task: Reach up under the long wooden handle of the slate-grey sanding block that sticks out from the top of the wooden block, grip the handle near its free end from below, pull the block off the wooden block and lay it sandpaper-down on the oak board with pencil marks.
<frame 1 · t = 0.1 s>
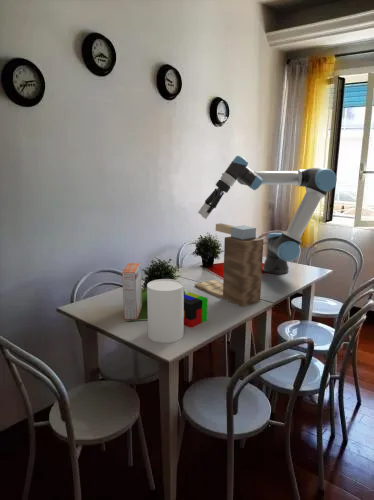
hand: (201, 215, 201), 36 cm above the table, tool tilted 35°, fingers open, 13 cm apart
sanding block: (243, 238, 173), point 30 cm above the table, touching wooden block
canister: (165, 334, 144), on the table
cracker box: (133, 313, 164), on the table
puzzle toy: (190, 321, 157), on the table
board: (217, 289, 194), on the table
wooden block: (241, 299, 180), on the table
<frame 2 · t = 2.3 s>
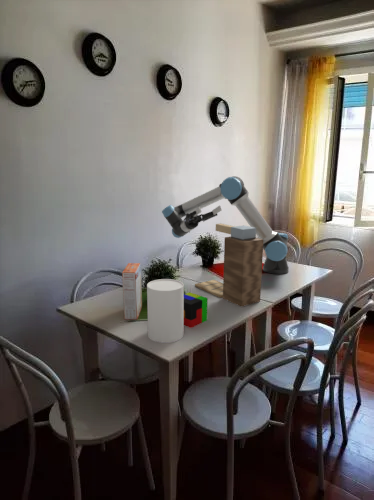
hand: (210, 208, 198), 40 cm above the table, tool pointing upward, fingers open, 13 cm apart
nothing on the table moved.
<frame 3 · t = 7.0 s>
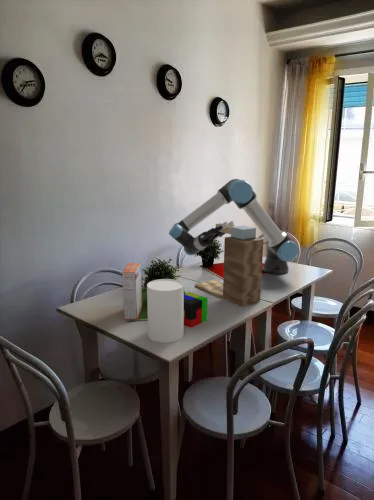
hand: (230, 223, 180), 35 cm above the table, tool pointing upward, fingers closed on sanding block, 3 cm apart
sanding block: (243, 238, 173), point 30 cm above the table, touching gripper, wooden block
everything else where it was.
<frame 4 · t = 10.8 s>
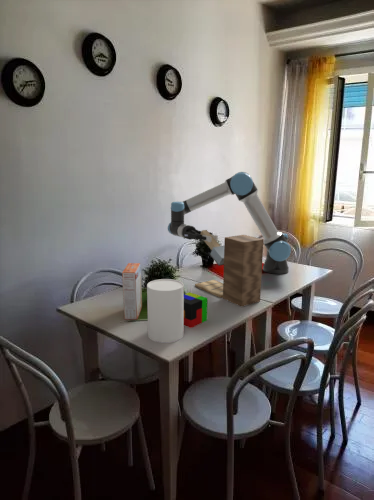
hand: (213, 239, 191), 26 cm above the table, tool horizontal, fingers closed on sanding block, 3 cm apart
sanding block: (220, 259, 189), point 17 cm above the table, tilted 30°, touching gripper
everything else where it was.
when the fingers open (13 cm above the table, at t = 13.4 s): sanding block drops 2 cm, resting on board.
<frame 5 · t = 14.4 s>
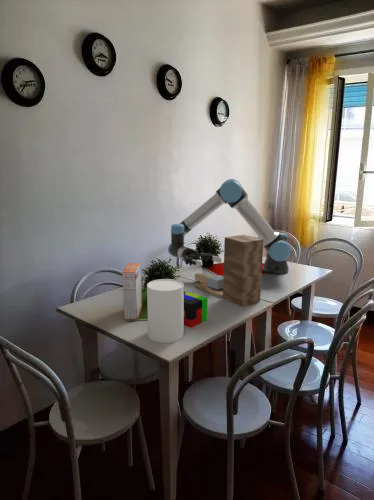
hand: (210, 262, 196), 13 cm above the table, tool horizontal, fingers open, 13 cm apart
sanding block: (218, 287, 193), point 2 cm above the table, touching board
everything else where it was.
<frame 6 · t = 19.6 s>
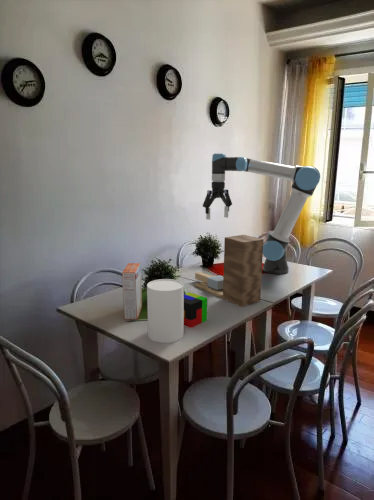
hand: (217, 218, 220), 32 cm above the table, tool pointing down, fingers open, 13 cm apart
nothing on the table moved.
at the end: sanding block inside the target area (0.4 cm from its centre), point 1.3 cm above the table; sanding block touching board; the gripper is holding nothing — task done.
